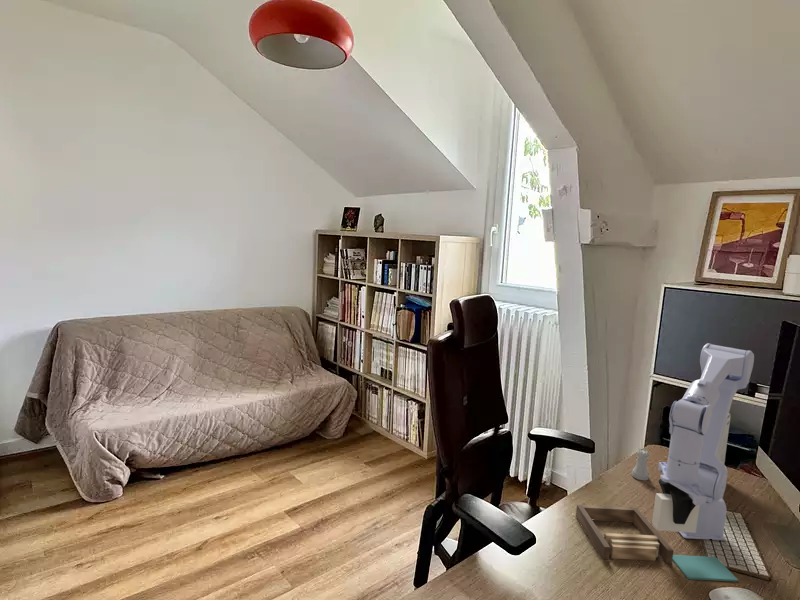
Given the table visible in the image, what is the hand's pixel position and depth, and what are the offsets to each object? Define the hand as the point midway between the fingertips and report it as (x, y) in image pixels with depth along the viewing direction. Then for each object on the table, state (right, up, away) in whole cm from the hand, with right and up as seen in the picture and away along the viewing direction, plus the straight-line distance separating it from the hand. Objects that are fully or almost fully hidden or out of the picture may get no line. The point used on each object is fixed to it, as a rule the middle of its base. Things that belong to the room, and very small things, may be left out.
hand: (675, 518), depth 105 cm
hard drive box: (+26, -6, +34) cm, 43 cm away
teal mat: (+4, -9, -3) cm, 10 cm away
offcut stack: (-9, -8, +1) cm, 12 cm away
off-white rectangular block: (0, -2, 0) cm, 2 cm away
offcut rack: (-9, -7, +7) cm, 13 cm away
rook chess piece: (+10, -4, +36) cm, 38 cm away
